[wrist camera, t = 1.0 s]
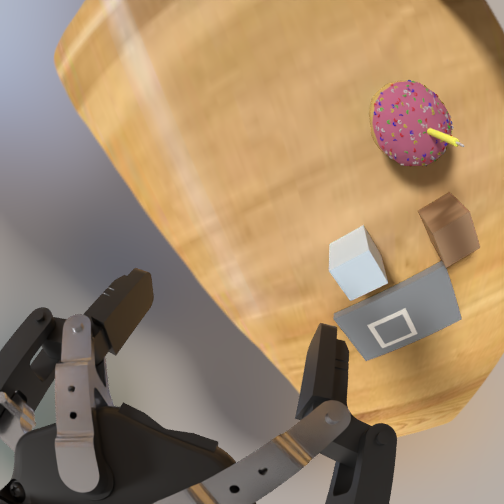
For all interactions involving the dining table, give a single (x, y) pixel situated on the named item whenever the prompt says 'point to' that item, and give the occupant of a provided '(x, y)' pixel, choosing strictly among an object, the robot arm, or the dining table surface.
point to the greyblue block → (356, 264)
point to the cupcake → (410, 123)
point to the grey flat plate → (401, 313)
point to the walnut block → (450, 228)
